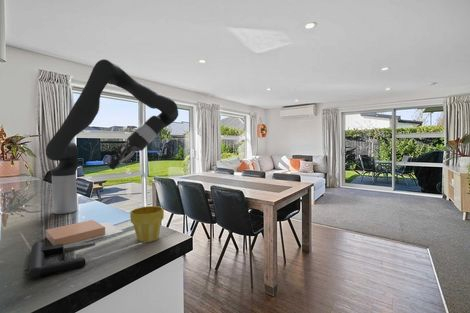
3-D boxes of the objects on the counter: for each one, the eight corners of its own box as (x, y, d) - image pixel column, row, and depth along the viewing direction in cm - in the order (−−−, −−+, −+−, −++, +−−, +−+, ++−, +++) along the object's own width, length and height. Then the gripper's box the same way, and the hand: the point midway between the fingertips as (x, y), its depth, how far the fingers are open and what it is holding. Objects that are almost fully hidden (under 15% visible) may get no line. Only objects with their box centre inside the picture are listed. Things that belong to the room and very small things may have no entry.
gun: (91, 233, 78) (26, 242, 68) (102, 255, 63) (21, 272, 53) (91, 243, 78) (26, 254, 68) (102, 267, 63) (20, 286, 53)
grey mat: (50, 236, 80) (50, 235, 80) (106, 223, 94) (106, 222, 94) (62, 249, 71) (62, 247, 71) (123, 232, 84) (123, 231, 84)
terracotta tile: (92, 226, 89) (45, 237, 78) (92, 219, 89) (45, 229, 78) (105, 234, 81) (55, 247, 70) (105, 227, 81) (54, 239, 70)
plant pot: (127, 237, 80) (126, 208, 79) (157, 230, 86) (157, 204, 86) (135, 248, 72) (135, 216, 71) (168, 239, 78) (168, 210, 77)
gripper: (138, 136, 105) (108, 165, 100) (132, 125, 93) (97, 158, 87) (151, 147, 105) (122, 176, 100) (146, 138, 93) (113, 171, 87)
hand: (110, 168), depth 94 cm, fingers closed
